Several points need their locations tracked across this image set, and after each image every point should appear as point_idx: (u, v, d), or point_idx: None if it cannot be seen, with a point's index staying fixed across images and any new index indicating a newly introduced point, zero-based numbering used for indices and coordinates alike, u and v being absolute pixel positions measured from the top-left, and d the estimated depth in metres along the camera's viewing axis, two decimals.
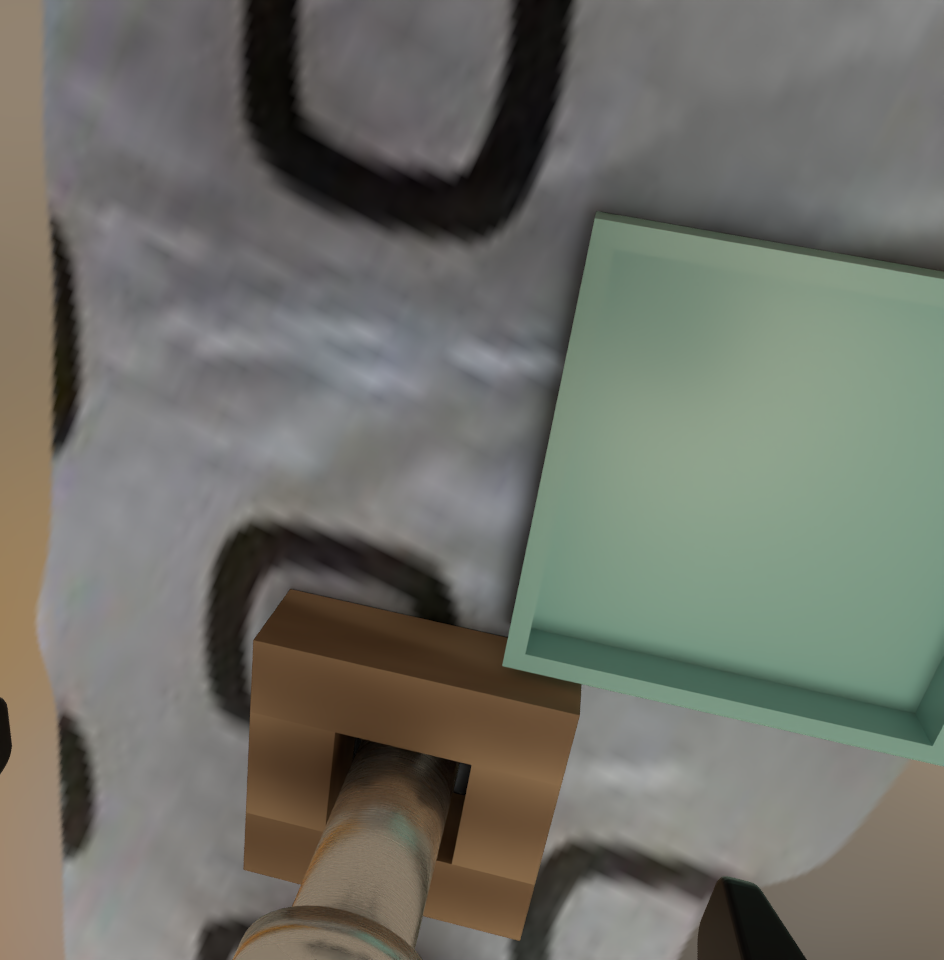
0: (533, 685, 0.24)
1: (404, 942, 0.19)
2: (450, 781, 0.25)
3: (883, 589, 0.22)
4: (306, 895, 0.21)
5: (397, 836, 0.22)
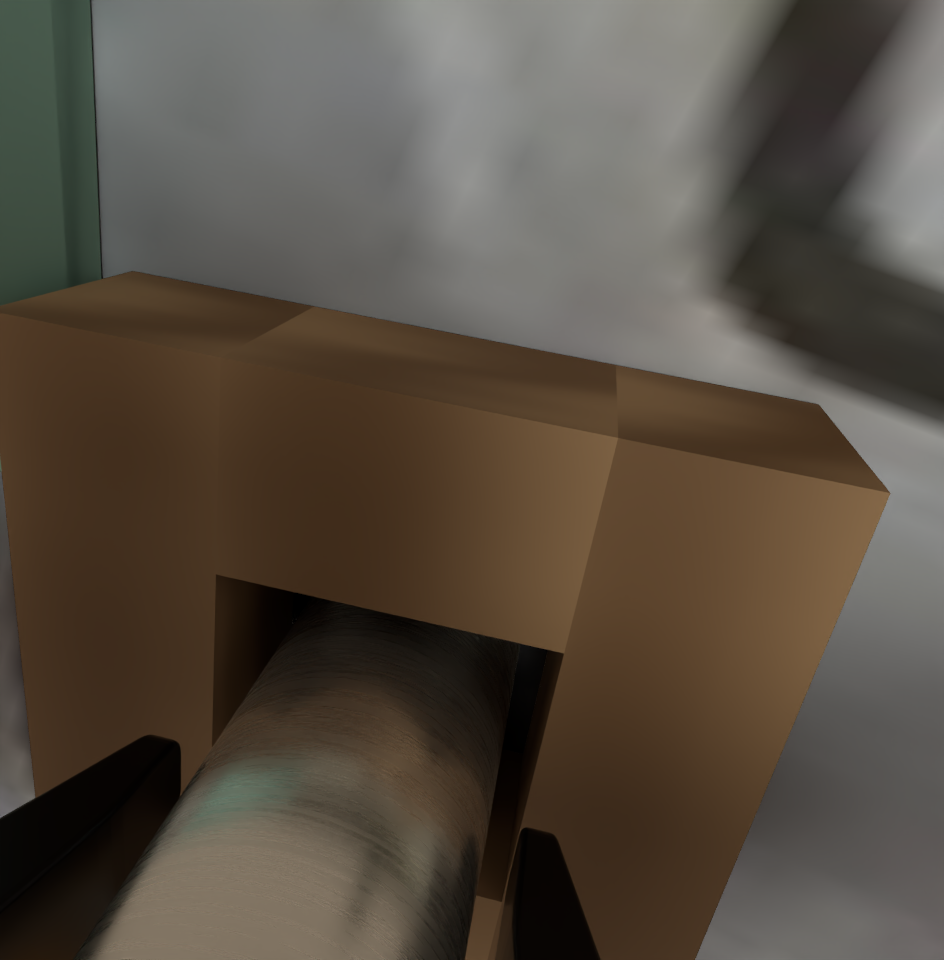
0: None
1: None
2: (347, 611, 0.10)
3: None
4: None
5: (141, 855, 0.08)
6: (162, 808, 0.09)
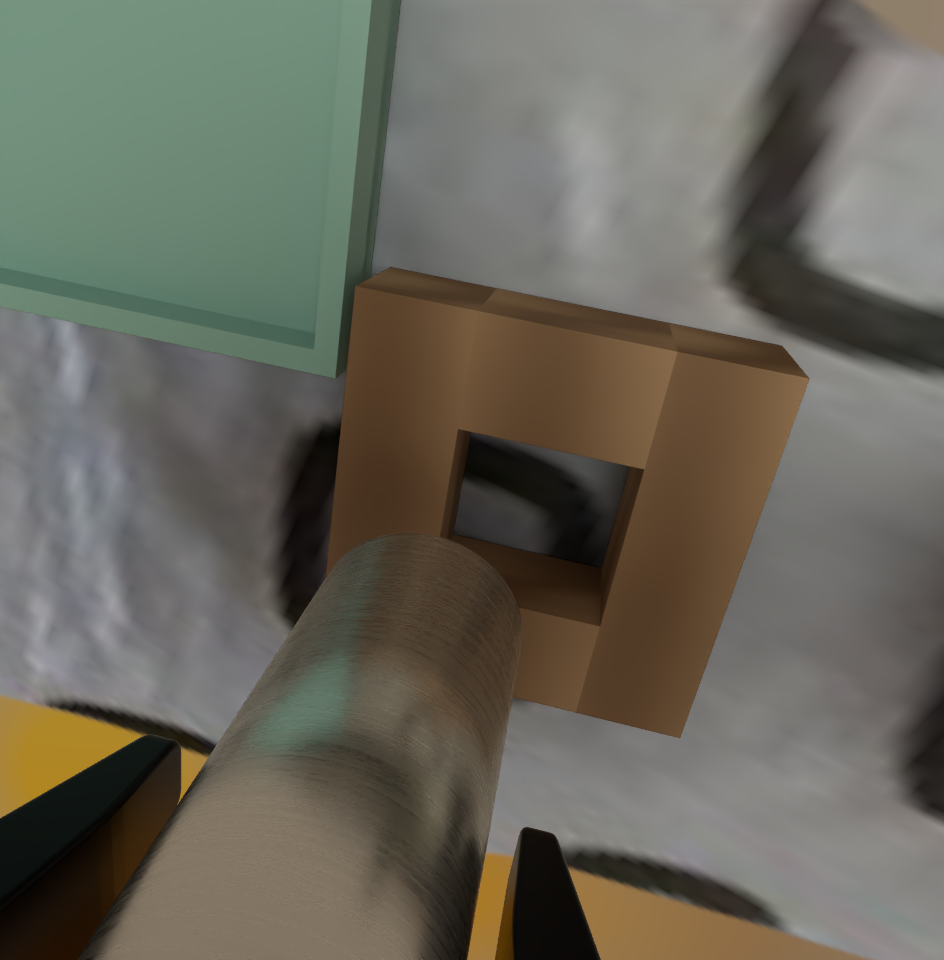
0: None
1: None
2: (348, 612, 0.10)
3: None
4: None
5: (143, 859, 0.08)
6: (162, 808, 0.09)
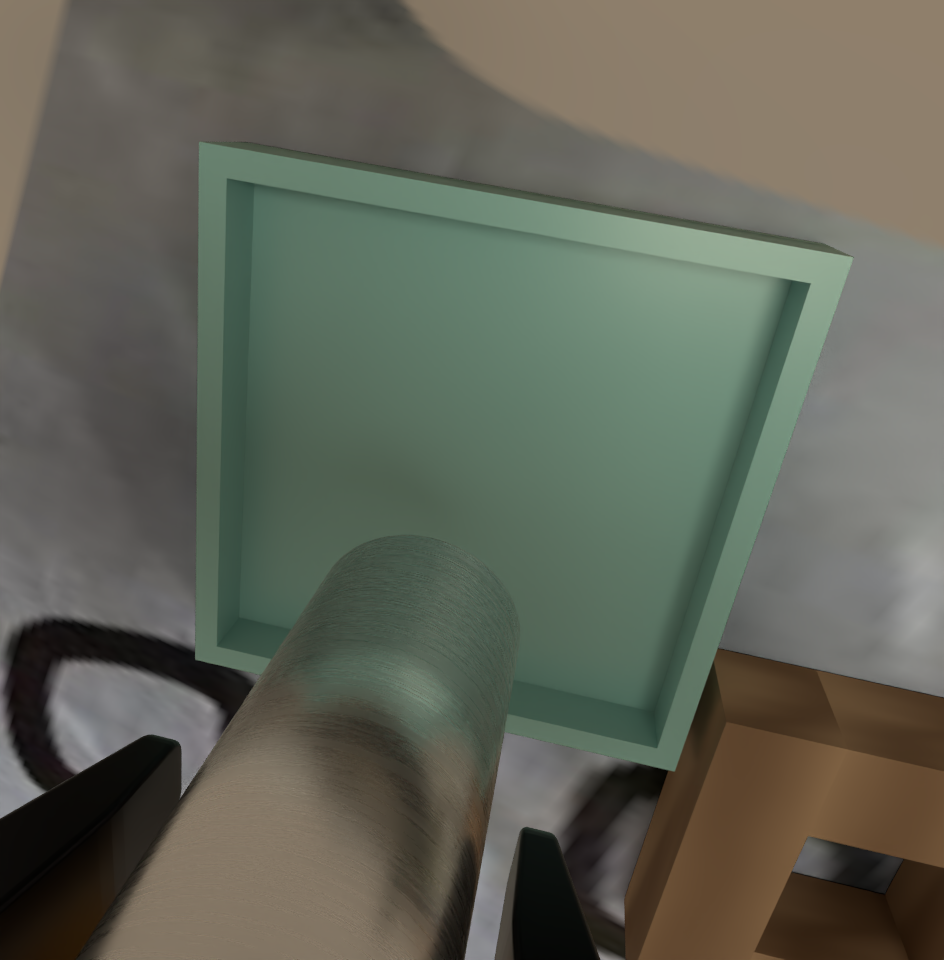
0: (705, 743, 0.20)
1: None
2: (345, 615, 0.10)
3: (589, 344, 0.18)
4: None
5: (138, 863, 0.08)
6: (162, 808, 0.09)
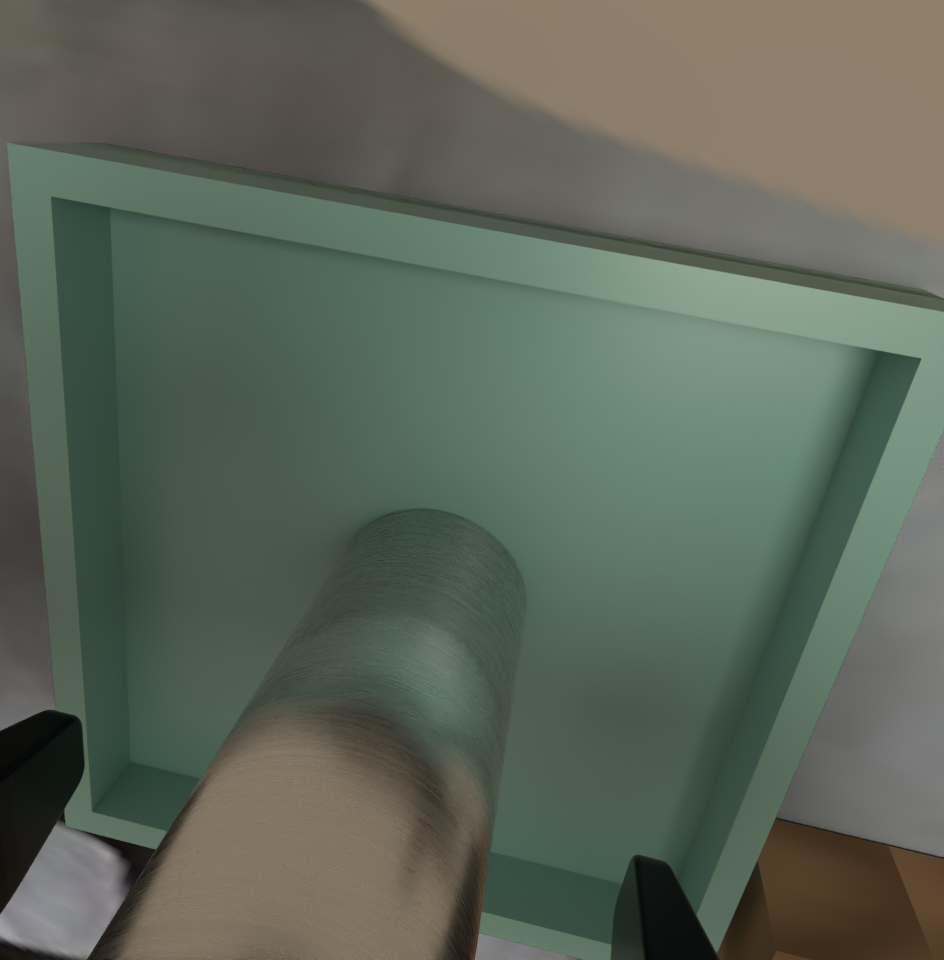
0: (742, 957, 0.14)
1: None
2: (369, 578, 0.11)
3: (585, 430, 0.12)
4: None
5: (193, 790, 0.09)
6: (61, 782, 0.09)
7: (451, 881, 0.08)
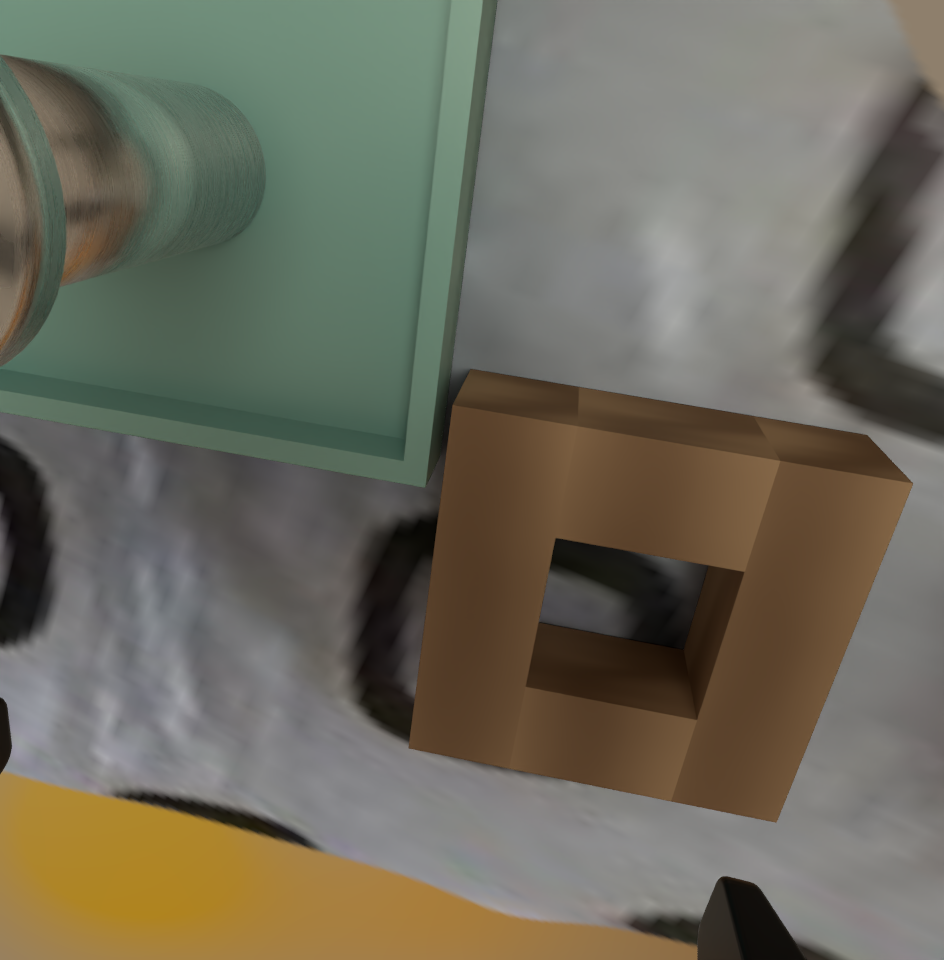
0: None
1: None
2: None
3: None
4: None
5: None
6: None
7: (82, 115, 0.12)
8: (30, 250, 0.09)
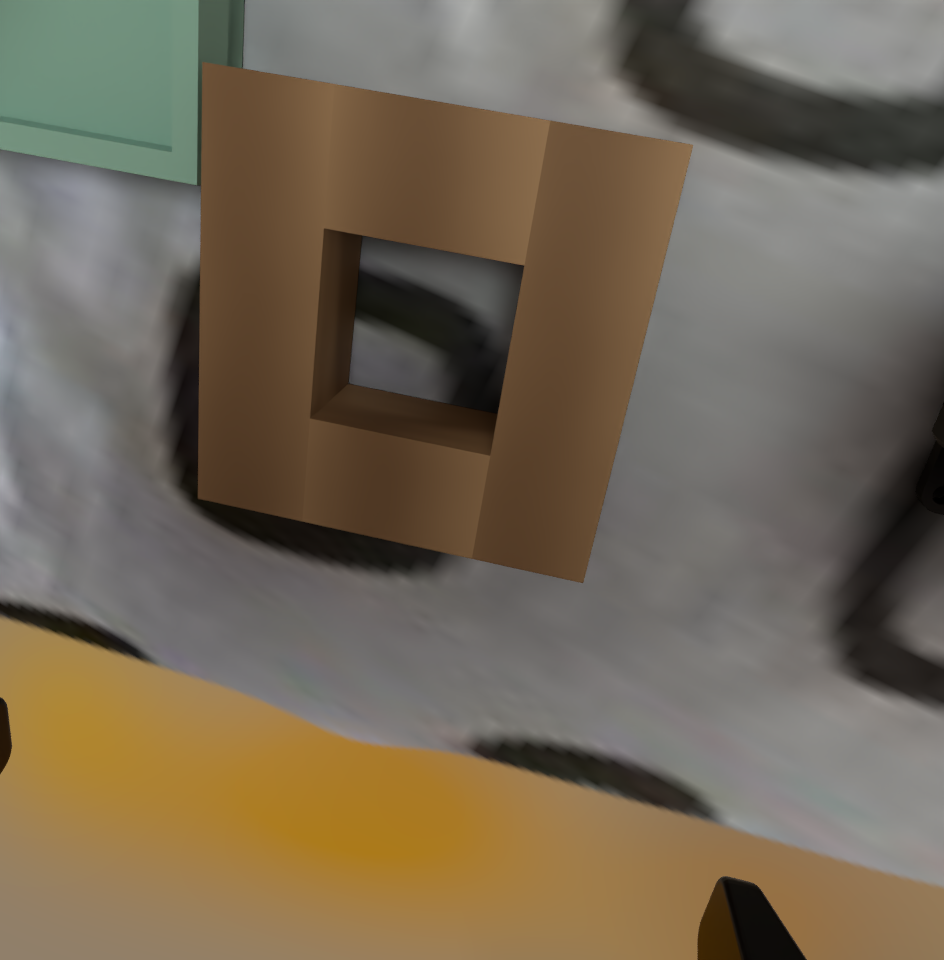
0: None
1: None
2: None
3: None
4: None
5: None
6: None
7: None
8: None
